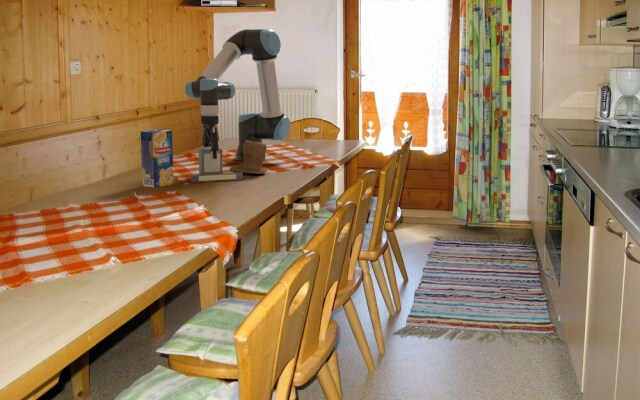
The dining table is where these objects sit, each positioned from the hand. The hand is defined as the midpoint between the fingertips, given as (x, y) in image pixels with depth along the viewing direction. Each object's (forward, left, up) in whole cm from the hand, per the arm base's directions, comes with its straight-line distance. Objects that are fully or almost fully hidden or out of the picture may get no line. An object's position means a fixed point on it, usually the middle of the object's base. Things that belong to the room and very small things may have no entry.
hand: (210, 164), depth 336 cm
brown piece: (-2, +19, -6) cm, 20 cm away
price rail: (+12, 0, -6) cm, 13 cm away
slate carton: (0, 0, -6) cm, 6 cm away
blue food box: (+13, -25, -6) cm, 29 cm away
